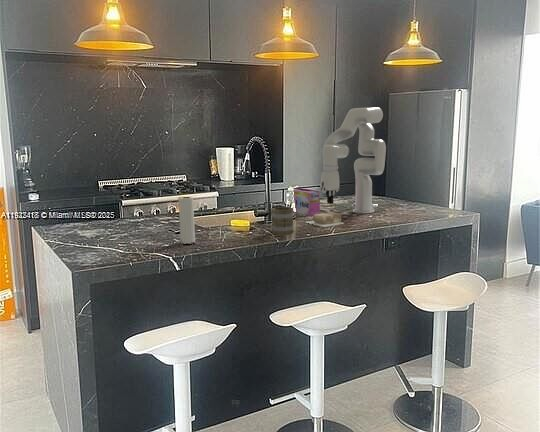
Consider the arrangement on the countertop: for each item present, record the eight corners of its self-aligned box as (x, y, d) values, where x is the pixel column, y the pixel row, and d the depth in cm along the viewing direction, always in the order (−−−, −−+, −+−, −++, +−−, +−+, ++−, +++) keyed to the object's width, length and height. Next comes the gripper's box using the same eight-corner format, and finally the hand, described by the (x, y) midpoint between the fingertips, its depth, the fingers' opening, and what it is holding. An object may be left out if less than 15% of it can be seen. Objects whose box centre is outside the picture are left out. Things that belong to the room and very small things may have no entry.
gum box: (285, 210, 328) (285, 188, 326) (296, 209, 332) (296, 187, 330) (309, 216, 308) (309, 192, 306) (320, 214, 313) (320, 191, 310)
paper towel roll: (196, 244, 242) (194, 197, 238) (182, 246, 241) (180, 198, 237) (193, 241, 249) (191, 195, 245) (180, 242, 247) (178, 196, 244)
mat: (324, 219, 296) (324, 219, 296) (344, 223, 283) (344, 223, 283) (304, 222, 288) (304, 222, 288) (324, 227, 275) (324, 226, 275)
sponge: (331, 212, 293) (313, 214, 286) (341, 214, 286) (323, 216, 279) (331, 219, 293) (313, 222, 287) (340, 221, 287) (323, 224, 280)
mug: (295, 234, 260) (295, 209, 258) (273, 235, 258) (273, 211, 256) (289, 228, 275) (289, 204, 273) (268, 229, 273) (268, 205, 271)
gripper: (336, 167, 290) (336, 201, 293) (314, 169, 282) (314, 203, 285) (345, 168, 284) (345, 202, 287) (323, 170, 276) (324, 205, 279)
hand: (330, 203), depth 286 cm, fingers closed
